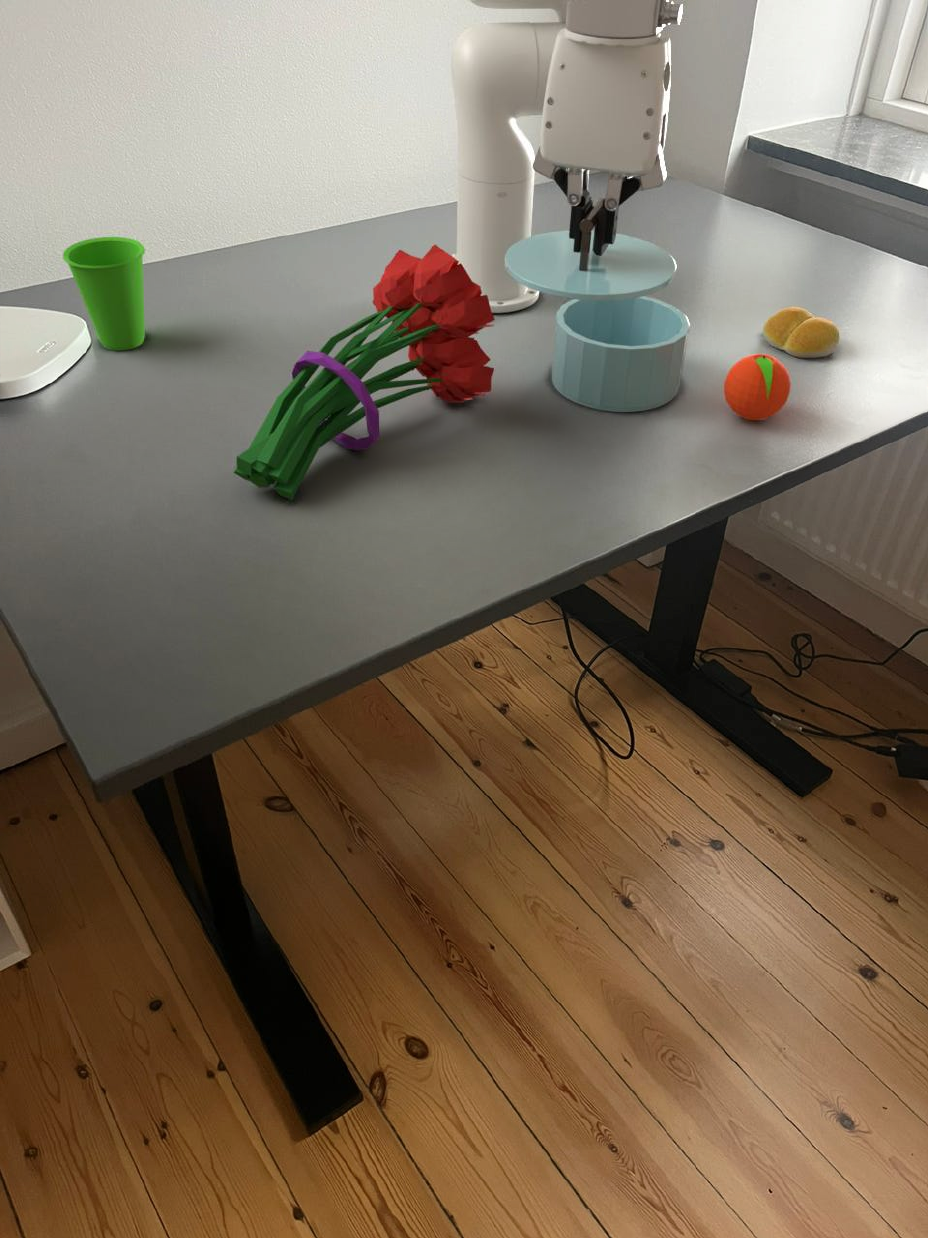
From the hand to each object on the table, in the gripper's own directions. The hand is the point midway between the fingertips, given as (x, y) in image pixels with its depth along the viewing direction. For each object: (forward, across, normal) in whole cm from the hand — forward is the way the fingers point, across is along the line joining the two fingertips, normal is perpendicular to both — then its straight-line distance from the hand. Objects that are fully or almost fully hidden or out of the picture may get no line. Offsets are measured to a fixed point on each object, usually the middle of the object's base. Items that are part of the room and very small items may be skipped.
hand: (591, 247), depth 92 cm
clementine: (+21, -17, -13) cm, 30 cm away
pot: (+21, -1, -16) cm, 27 cm away
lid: (+2, 0, 0) cm, 2 cm away
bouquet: (+21, +20, +6) cm, 30 cm away
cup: (+21, +57, -5) cm, 61 cm away
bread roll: (+21, -20, -34) cm, 45 cm away
